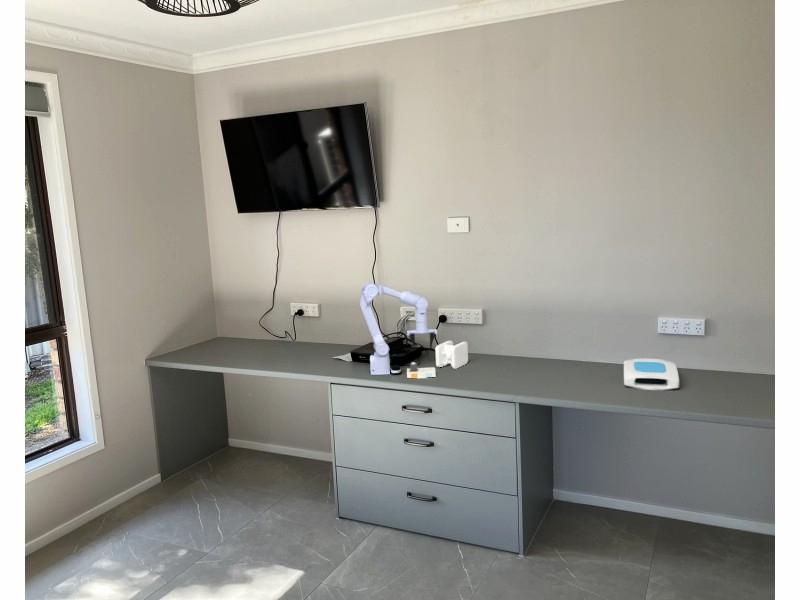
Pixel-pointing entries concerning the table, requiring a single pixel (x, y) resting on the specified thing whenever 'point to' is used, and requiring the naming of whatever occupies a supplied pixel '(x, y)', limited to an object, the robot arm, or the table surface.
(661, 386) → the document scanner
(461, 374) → the table surface
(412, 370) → the plug
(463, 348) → the cable organizer
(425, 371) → the white printed box
